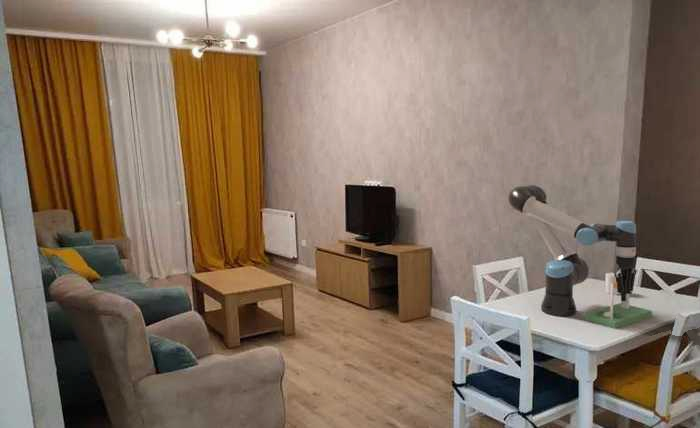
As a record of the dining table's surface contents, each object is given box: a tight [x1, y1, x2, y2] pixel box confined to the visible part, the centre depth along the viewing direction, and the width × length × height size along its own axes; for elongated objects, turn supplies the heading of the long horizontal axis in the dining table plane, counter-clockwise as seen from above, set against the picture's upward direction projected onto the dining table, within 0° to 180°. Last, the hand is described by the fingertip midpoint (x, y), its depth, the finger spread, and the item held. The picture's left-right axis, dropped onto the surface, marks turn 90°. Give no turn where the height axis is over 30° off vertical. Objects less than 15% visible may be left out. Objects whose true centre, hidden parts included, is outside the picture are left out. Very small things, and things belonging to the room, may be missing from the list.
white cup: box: [605, 272, 621, 296], centre depth 248 cm, size 8×8×10 cm
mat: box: [583, 302, 653, 329], centre depth 210 cm, size 28×14×2 cm, turn 120°
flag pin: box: [609, 282, 617, 321], centre depth 200 cm, size 4×1×16 cm, turn 120°
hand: (625, 307), depth 211 cm, fingers closed
